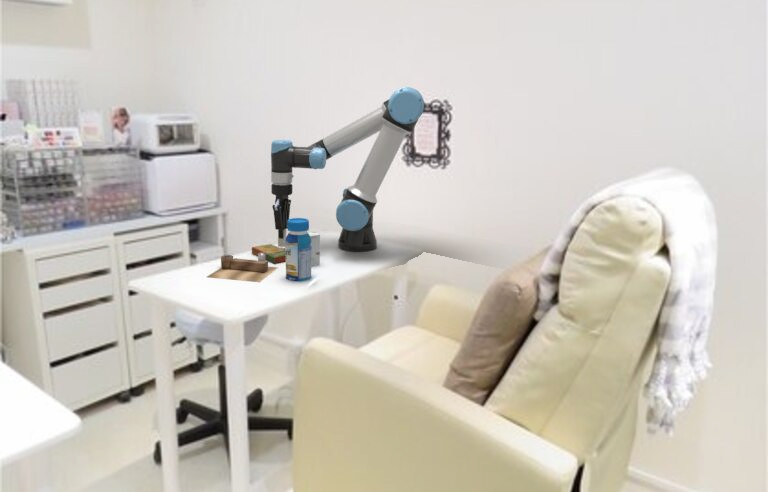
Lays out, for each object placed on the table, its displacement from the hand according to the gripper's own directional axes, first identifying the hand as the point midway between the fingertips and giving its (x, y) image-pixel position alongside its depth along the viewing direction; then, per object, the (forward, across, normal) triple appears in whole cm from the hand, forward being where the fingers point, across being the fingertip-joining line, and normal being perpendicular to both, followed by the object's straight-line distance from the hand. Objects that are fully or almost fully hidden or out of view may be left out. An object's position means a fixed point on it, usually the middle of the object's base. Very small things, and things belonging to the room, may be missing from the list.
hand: (282, 246), depth 219 cm
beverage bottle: (+3, -30, -17) cm, 34 cm away
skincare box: (+3, -16, -16) cm, 22 cm away
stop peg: (+1, -24, -2) cm, 24 cm away
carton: (+3, -10, 0) cm, 11 cm away
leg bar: (+1, -27, +3) cm, 27 cm away
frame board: (+3, -30, +2) cm, 30 cm away
